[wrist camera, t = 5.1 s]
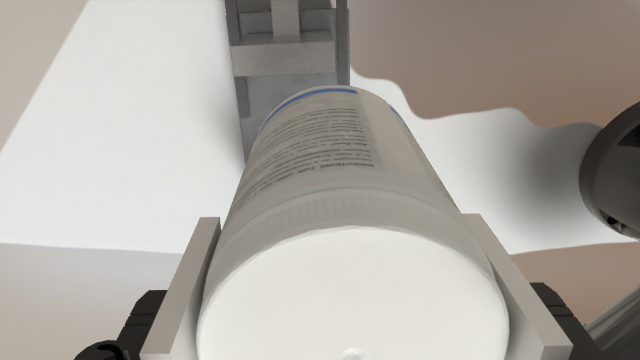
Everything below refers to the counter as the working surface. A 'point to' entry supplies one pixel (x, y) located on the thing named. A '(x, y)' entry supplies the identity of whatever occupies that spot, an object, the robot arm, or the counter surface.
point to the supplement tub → (346, 246)
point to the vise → (271, 90)
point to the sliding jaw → (284, 47)
